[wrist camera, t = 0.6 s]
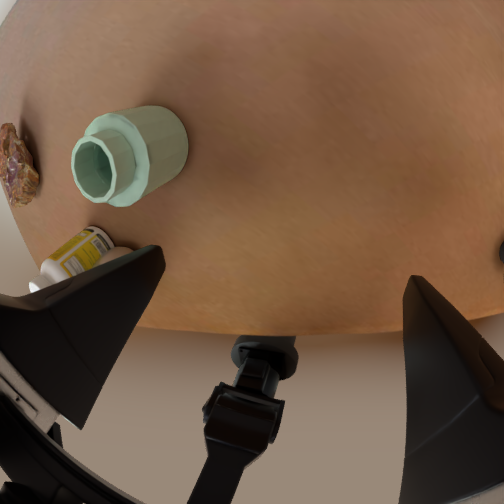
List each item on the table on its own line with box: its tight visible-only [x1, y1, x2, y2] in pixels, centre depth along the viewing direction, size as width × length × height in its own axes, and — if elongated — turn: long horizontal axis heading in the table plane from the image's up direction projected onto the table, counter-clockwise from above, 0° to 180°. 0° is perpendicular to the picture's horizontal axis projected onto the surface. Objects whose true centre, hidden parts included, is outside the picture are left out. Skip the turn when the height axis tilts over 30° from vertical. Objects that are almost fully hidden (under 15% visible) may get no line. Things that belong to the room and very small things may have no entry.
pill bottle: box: [29, 226, 115, 293], centre depth 26 cm, size 6×6×11 cm
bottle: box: [71, 105, 188, 207], centre depth 18 cm, size 7×7×8 cm
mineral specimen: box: [0, 123, 39, 208], centre depth 25 cm, size 12×8×7 cm
